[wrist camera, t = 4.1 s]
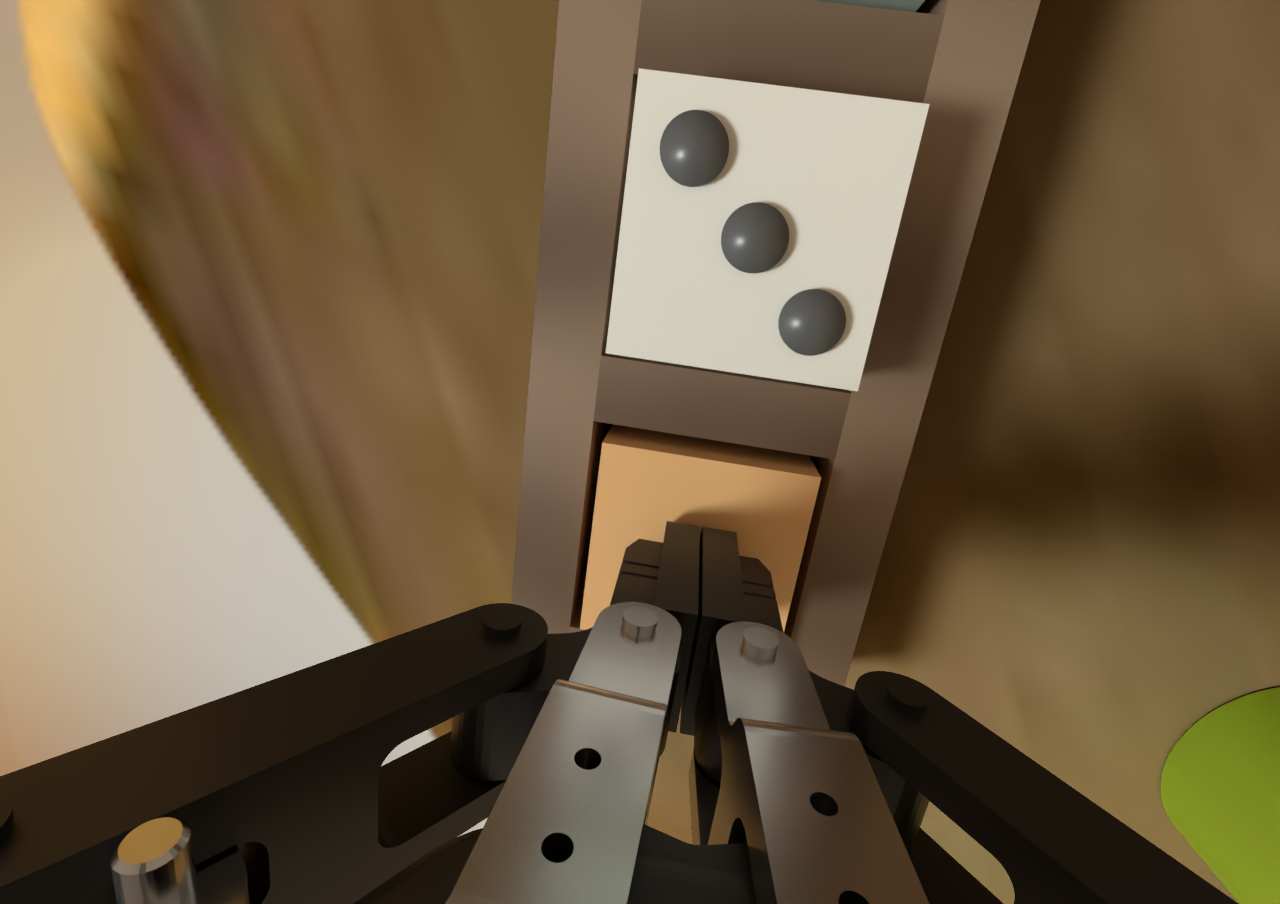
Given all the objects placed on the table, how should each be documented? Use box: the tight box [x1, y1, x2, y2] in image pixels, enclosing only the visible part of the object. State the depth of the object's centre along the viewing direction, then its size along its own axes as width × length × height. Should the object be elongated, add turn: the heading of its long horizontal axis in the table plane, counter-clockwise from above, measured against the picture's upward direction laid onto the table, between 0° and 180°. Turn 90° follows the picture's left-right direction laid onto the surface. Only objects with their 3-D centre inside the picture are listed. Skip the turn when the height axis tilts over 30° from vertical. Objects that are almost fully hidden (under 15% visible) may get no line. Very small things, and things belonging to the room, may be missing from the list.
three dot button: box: [606, 68, 930, 391], centre depth 11 cm, size 4×4×3 cm
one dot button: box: [580, 424, 821, 632], centre depth 14 cm, size 4×4×3 cm
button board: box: [511, 0, 1041, 686], centre depth 13 cm, size 21×8×2 cm, turn 172°
